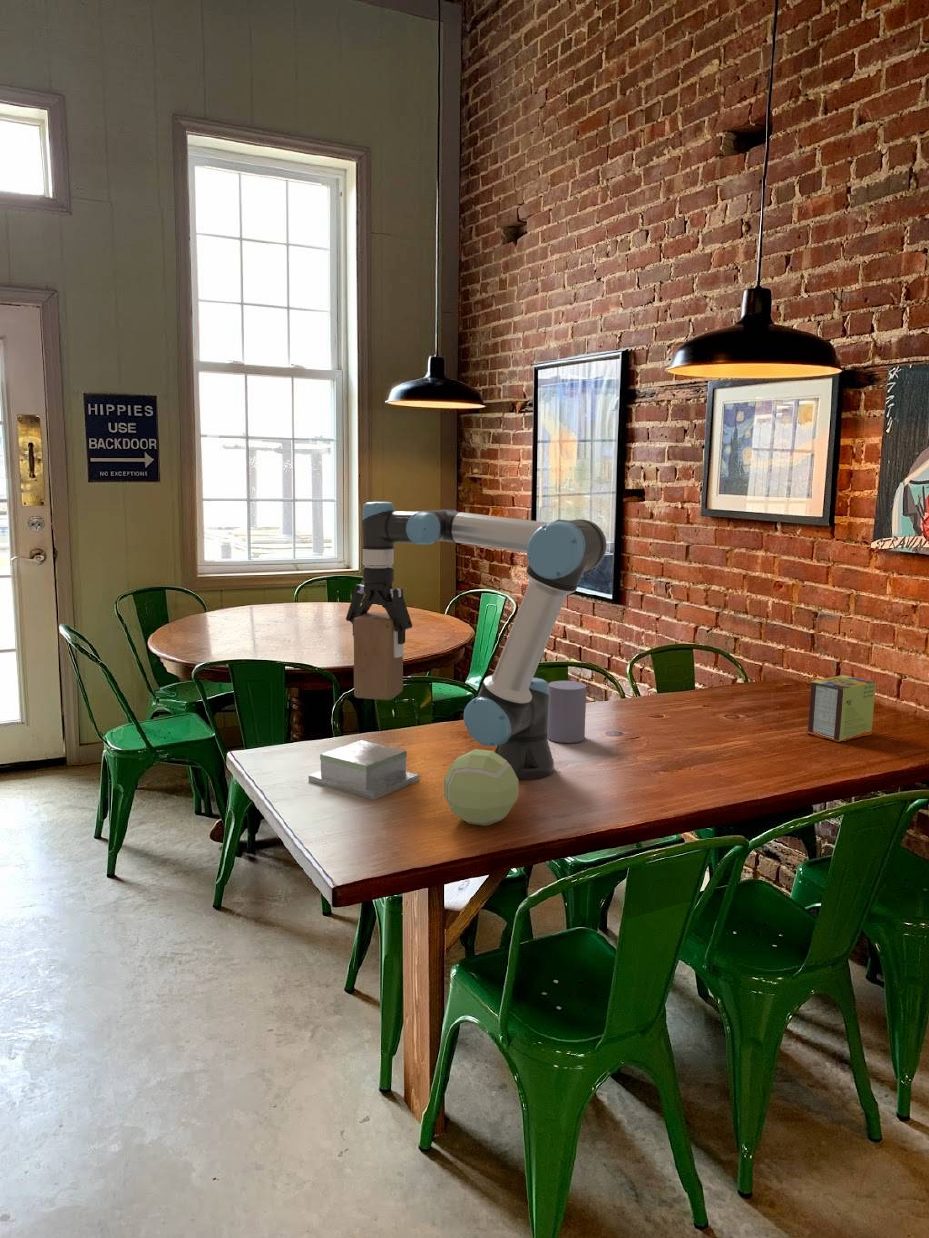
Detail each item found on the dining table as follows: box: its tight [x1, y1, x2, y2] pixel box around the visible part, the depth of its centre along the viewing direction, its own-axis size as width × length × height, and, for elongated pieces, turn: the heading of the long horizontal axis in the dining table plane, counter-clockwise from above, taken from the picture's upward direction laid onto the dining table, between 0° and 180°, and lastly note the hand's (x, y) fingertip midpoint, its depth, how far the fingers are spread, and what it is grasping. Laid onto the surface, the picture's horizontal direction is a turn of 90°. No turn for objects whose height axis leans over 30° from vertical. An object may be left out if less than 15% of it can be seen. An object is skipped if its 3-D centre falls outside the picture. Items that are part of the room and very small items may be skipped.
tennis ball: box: [443, 748, 520, 827], centre depth 193 cm, size 15×15×15 cm
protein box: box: [807, 674, 877, 741], centre depth 261 cm, size 10×15×16 cm
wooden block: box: [353, 611, 404, 701], centre depth 229 cm, size 10×10×20 cm
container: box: [547, 680, 587, 744], centre depth 254 cm, size 10×10×15 cm
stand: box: [308, 739, 419, 801], centre depth 218 cm, size 20×16×7 cm
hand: (378, 653), depth 229 cm, fingers closed on wooden block, 12 cm apart
